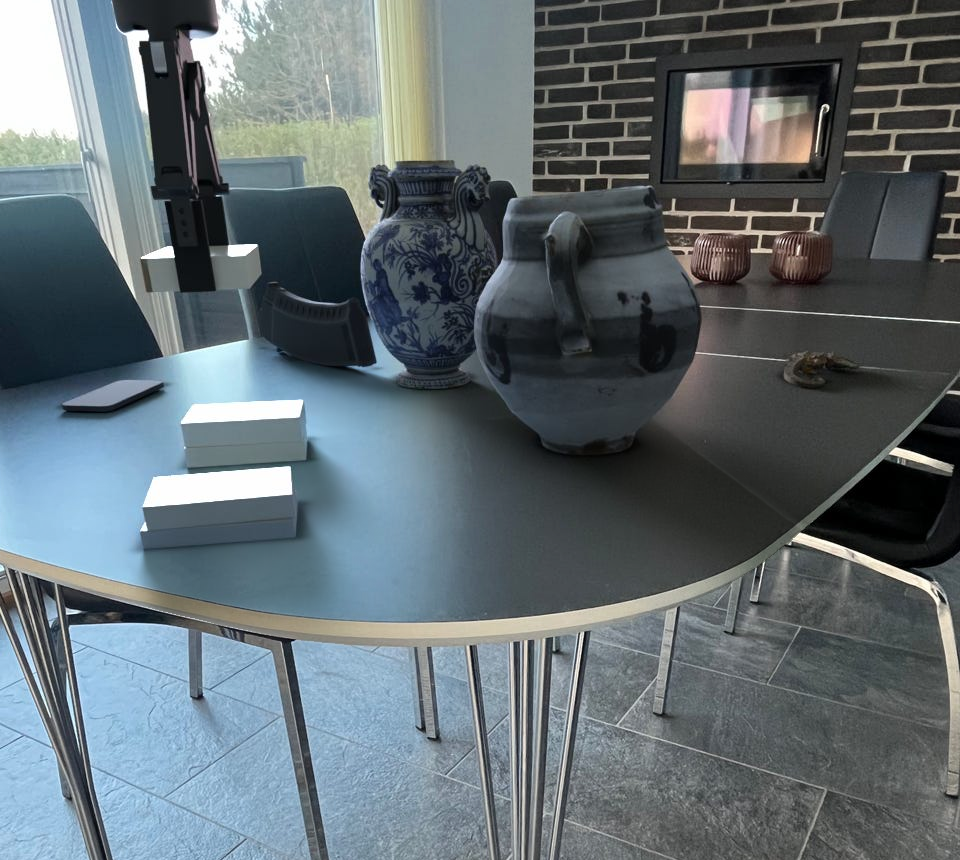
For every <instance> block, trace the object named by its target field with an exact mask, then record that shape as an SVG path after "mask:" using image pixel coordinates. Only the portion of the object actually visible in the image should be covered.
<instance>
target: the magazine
mask: <svg viewBox="0 0 960 860" xmlns="http://www.w3.org/2000/svg"><path fill="white" fill-rule="evenodd" d="M367 317H368V316H367V314H366V312H365V311H364V310H363V308H362V307H361V303H360V300H359V299H358V298H356V297H350V298H349V299H347V300H346V301H343V302H341V303H333V302H319V301H313V300H310V299H307V298H304V297H301V296H298V295H296V294H294V293H292V292H289V291H288V290H287V289H286V288H283V287H281V286H280V284H279V282H277V281H269V282H267V283H266V291H265V294H264V295H263V297H262V301H261V307H260V309H259V334H260V336H261V337H262V338H264V340H266V341H268V342H269V343H270V344H272V345H273V346H274V347H276V352H277V353H281V352H282V353H283V352H285V353H287V354H288V355H290V356H292V357H293V358H296V359H298V360H301V361H304V362H306V363H311V364H314V365H319V366H327V367H328V366H329V367H358V368H360V367H361V368H366V367H372V366H373V365H376V364H377V363H378V361H377V356H376V352H375V348H374V344H373V339H372V334H371V330H370V326H369V322H368V321H369V320H368V318H367Z"/></svg>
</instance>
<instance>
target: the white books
mask: <svg viewBox="0 0 960 860" xmlns="http://www.w3.org/2000/svg"><path fill="white" fill-rule="evenodd" d="M180 428H181V434H182V439H183V444H184V448H183V452H184V456H185V462H186V467H187V468H188V469H189V468H191V469H192V468H206V467H220V466H221V467H222V466H237V465H251V464H252V465H253V464H254V465H255V464H269V463H283V462H295V461H297V462H298V461H307V455H308V454H307V453H308V433H307V415H306V406H305V400H304V399H293V400H292V399H291V400H290V399H289V400H271V401H270V400H269V401H250V402H247V401H246V402H231V403H230V402H228V403H227V402H226V403H209V404H207V403H206V404H193V405H192V406H191V407H190V409H189V411H188V412H187V413H186V415H185V416H184V418H183V419H182V420H181V422H180Z"/></svg>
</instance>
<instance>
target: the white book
mask: <svg viewBox="0 0 960 860" xmlns="http://www.w3.org/2000/svg"><path fill="white" fill-rule="evenodd" d="M209 247H210V253H211V260H212V267H213V273H214V279H215V286H216V291H231V290H250V289H251V288H252V286H253V285H254V284H255V283H256V282H257V280H258V279H259V278H260V276H261V275H262V274H263V273H262V266H261V265H262V264H261V258H260V249H259V245H258V244H235V245H234V244H233V245H230V244H229V246H209ZM139 262H140V267H141V272H142V277H143V282H144V288H145V292H146V293H149V294H150V293H169V292H170V293H171V292H180V288H179V283H178V277H177V271H176V266H175V260H174V254H173V248H172V246H166V247H163V248H161V249H159V250H156V251H154V252H151V253H149V254H146V255H145V256H142V257H140V258H139Z"/></svg>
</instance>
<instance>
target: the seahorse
mask: <svg viewBox="0 0 960 860" xmlns="http://www.w3.org/2000/svg"><path fill="white" fill-rule="evenodd" d="M785 361H786V362H787V363H784V368H783V369H784V372H783V376H782V377H783V378H784V380H785V381H787V383H789V384H792V385H794V386H798V387H802V388H807V389H808V388H811V389H813V388H814V389H815V388H821V387H823V386H824V385H825V383H826V380H825V379H823V378H822V377H815V376H816V375H818V372H819V371H820V370H822V369H827V370H829V371H830V370H831V369H837V370H839V369H840V370H841V369H842V370H843V371H844V369H848V368H849V370H858V369H859V368H860V366H859V365H858V364H855V363H854V361H855V360H851V359H849V358H848V356H846V357H845V356H843V355H839V354H836V353H835V351H832V352H829V353H825V351H822V352H816V351H812V350H811V349H810V348H809V349H808V350H806V351H804V352H801V351H799V350H797V353H796V352H795V353H794V354H792V355H788V358H786V359H785ZM817 371H818V372H817ZM796 372H800V373H801V374H802V375H803V376H805V377H807V378H811V379H805V378H801V377H799V376H798V375H795V373H796Z"/></svg>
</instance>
